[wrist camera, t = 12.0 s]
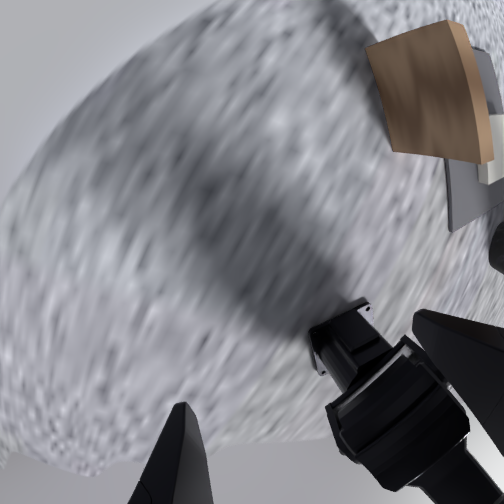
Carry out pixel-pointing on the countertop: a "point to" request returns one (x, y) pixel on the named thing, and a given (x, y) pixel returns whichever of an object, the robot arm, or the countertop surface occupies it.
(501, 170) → the tile
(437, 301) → the countertop surface
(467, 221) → the mat
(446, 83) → the flat wooden plank
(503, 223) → the travel mug
